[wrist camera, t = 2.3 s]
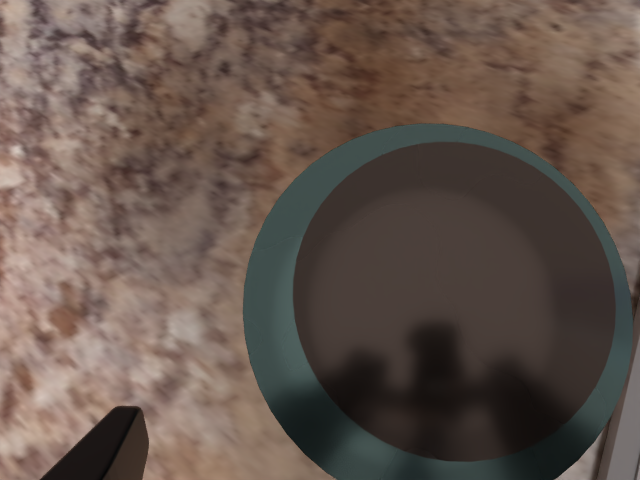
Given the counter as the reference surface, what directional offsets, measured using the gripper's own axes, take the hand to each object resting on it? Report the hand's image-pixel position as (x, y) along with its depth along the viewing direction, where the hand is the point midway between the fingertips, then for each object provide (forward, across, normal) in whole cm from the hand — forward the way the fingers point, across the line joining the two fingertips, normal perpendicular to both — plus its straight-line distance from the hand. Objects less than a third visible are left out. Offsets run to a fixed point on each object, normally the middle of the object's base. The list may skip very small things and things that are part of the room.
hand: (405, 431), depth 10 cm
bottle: (+8, 0, +5) cm, 9 cm away
